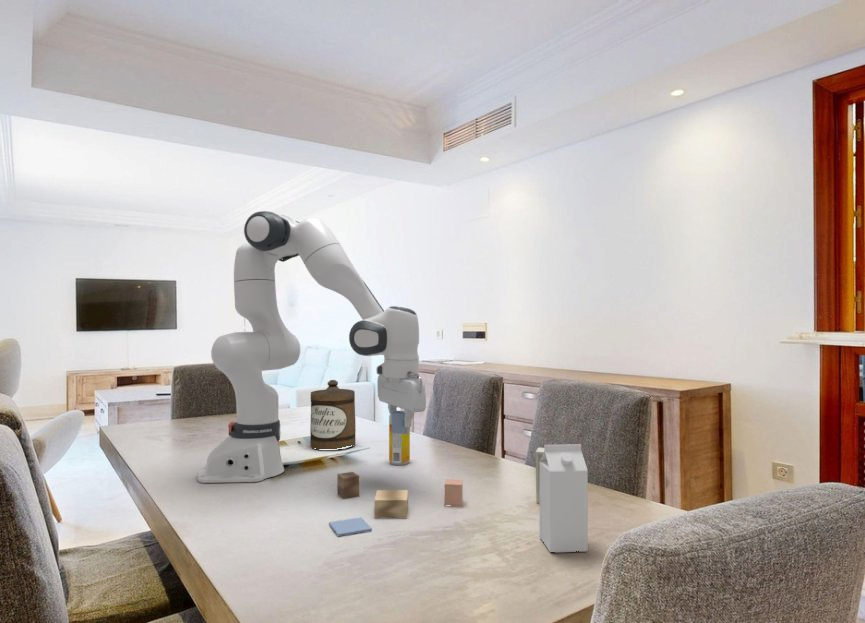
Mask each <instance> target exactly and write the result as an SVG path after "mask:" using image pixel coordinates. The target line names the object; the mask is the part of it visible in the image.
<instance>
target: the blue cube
mask: <svg viewBox="0 0 865 623" xmlns="http://www.w3.org/2000/svg"><path fill="white" fill-rule="evenodd" d="M404 418H405V413H404V410H397V411H393V413H392V433H398V434H408V432H409V427H404V426H403V419H404Z"/></svg>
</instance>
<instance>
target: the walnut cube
mask: <svg viewBox="0 0 865 623" xmlns="http://www.w3.org/2000/svg"><path fill="white" fill-rule="evenodd" d="M336 488H337V490H336V492H337V496H339V497H340V498H341V499H343V500H346V499H353V498H357V497H360V475H359V474H357V473H355V472H354V471H349V472H343V473H337V486H336Z"/></svg>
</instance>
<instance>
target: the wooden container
mask: <svg viewBox="0 0 865 623" xmlns="http://www.w3.org/2000/svg"><path fill="white" fill-rule="evenodd" d="M338 386H339V382H338V381H337V380H336V379H330V380H329V381H327V388H326V389H318V390H313V391H311V392H310V422H309V423H310V429H309V430H310V433H309V434H310V447H312V448H311V449H313V448H316V449H337V448H342V447H346V446H351V445H352V446H353V445H355V446H356V432H357V429H356V427H357V426H356V402H355V401H356V400H355V398H356V395H355V394H356V393H355V390H353V389H348V388H345V389H344V388H339V387H338Z"/></svg>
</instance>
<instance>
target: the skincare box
mask: <svg viewBox="0 0 865 623" xmlns="http://www.w3.org/2000/svg"><path fill="white" fill-rule="evenodd" d="M543 453H544V447H537V448H536V450H535V454H534V455H535V490H536V492H535V495H536V496H535V497H536V500H535V501H536V504H540V459H541V457H542V455H543Z"/></svg>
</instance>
